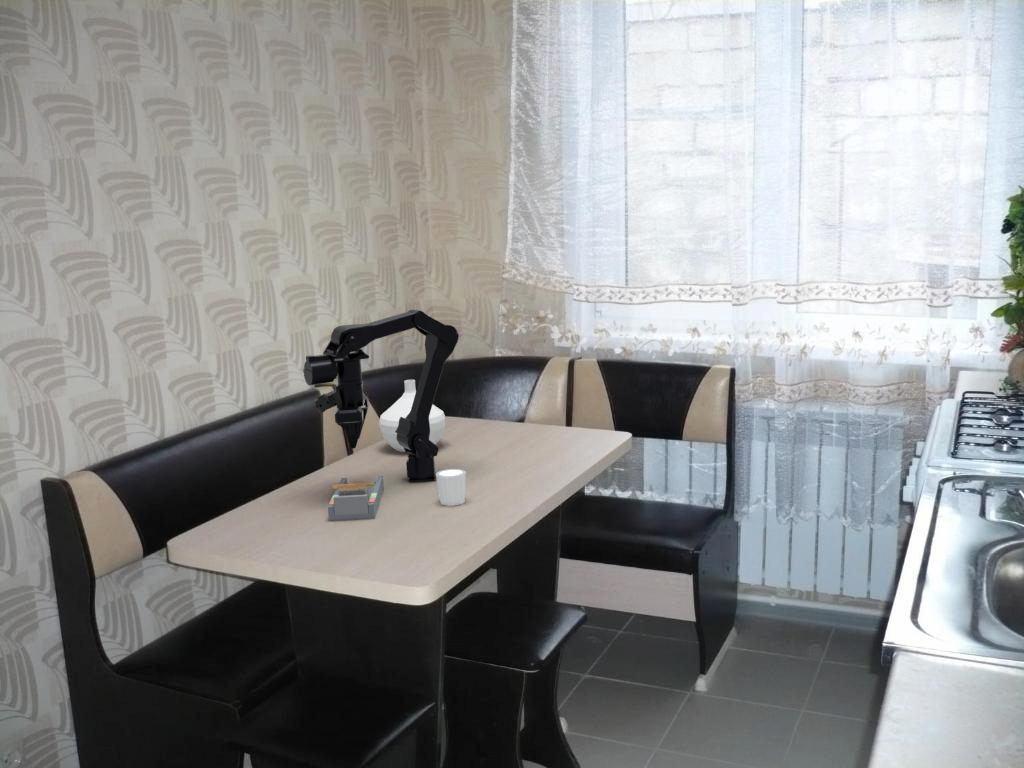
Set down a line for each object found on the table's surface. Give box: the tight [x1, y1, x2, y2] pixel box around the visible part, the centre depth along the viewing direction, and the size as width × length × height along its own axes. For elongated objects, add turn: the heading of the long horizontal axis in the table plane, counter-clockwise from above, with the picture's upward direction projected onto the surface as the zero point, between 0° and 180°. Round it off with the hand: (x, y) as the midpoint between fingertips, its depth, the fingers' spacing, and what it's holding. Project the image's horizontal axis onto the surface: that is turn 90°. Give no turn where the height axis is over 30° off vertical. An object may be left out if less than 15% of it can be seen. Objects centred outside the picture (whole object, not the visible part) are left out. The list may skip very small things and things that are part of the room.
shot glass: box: [436, 468, 467, 507], centre depth 242 cm, size 7×7×7 cm
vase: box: [378, 379, 446, 453], centre depth 292 cm, size 18×18×19 cm
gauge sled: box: [331, 482, 375, 503], centre depth 238 cm, size 9×5×5 cm, turn 92°
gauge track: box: [327, 475, 385, 522], centre depth 244 cm, size 10×23×5 cm, turn 2°
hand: (355, 443), depth 252 cm, fingers open, 9 cm apart
